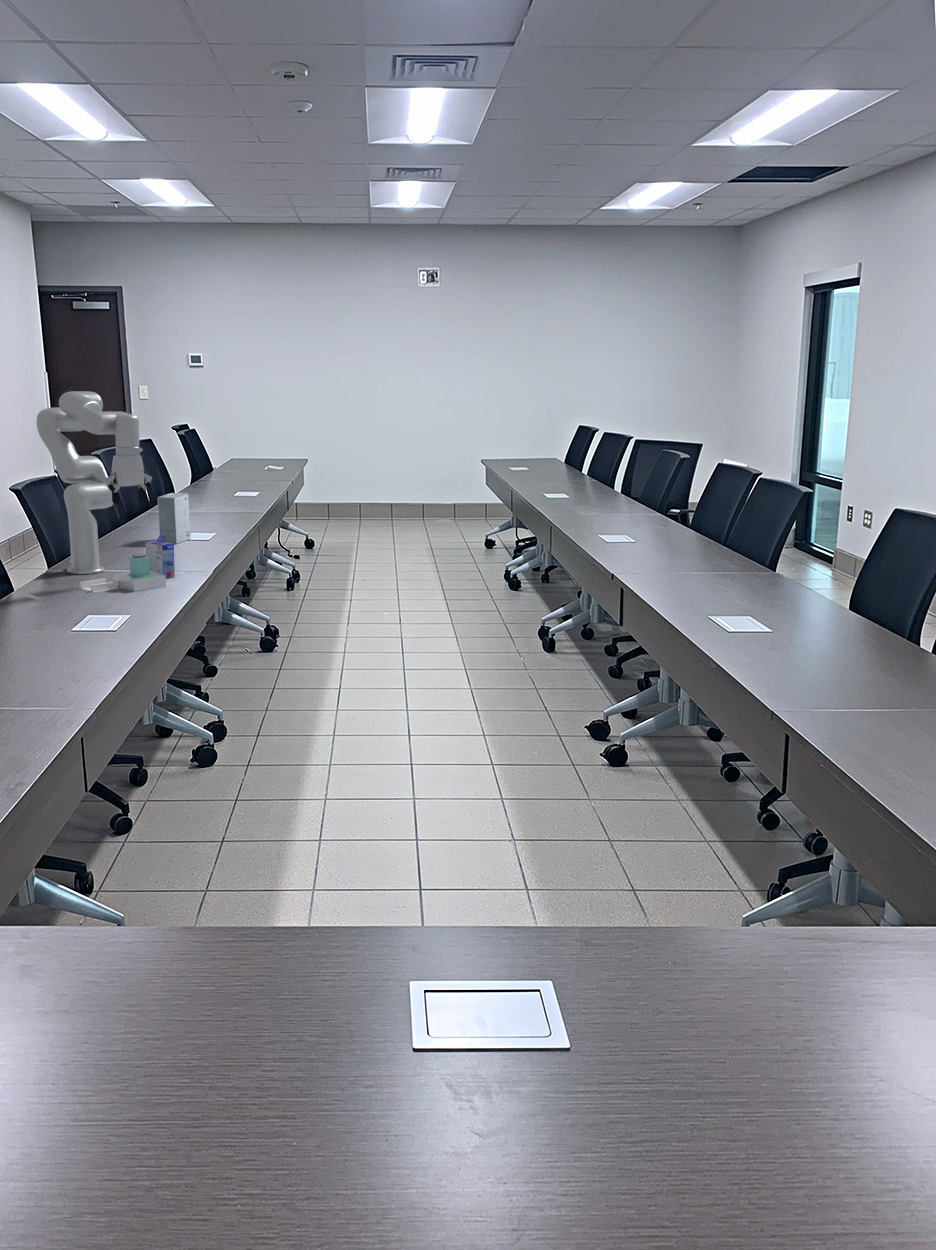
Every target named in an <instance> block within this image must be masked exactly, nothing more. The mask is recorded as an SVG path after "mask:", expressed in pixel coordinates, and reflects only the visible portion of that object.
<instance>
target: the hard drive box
mask: <svg viewBox="0 0 936 1250" xmlns="http://www.w3.org/2000/svg"><path fill="white" fill-rule="evenodd" d="M157 511H158V513H157V514H158V515H157V516H158V529H159V536H160V535H162V536H166V538H165V540H164V542H167V543H173V544H174V545H178V544H181V543H183V542H186V541H189V540H190V539H191V534H192V533H191V521H190V505H189V494H188V493H187V492H183V493H181V492H171V493H167V494H164V495H161V496H157ZM160 539H161V540H163V539H164V538H162V537H161V538H160ZM180 542H181V543H180ZM177 543H178V544H177Z"/></svg>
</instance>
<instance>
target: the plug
mask: <svg viewBox="0 0 936 1250" xmlns="http://www.w3.org/2000/svg"><path fill="white" fill-rule="evenodd" d="M129 572H130V576H134V577H141V576H142V575H149V574H150V567H149V557H146V554H143V553H139V554H132V555H131V556H129Z"/></svg>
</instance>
